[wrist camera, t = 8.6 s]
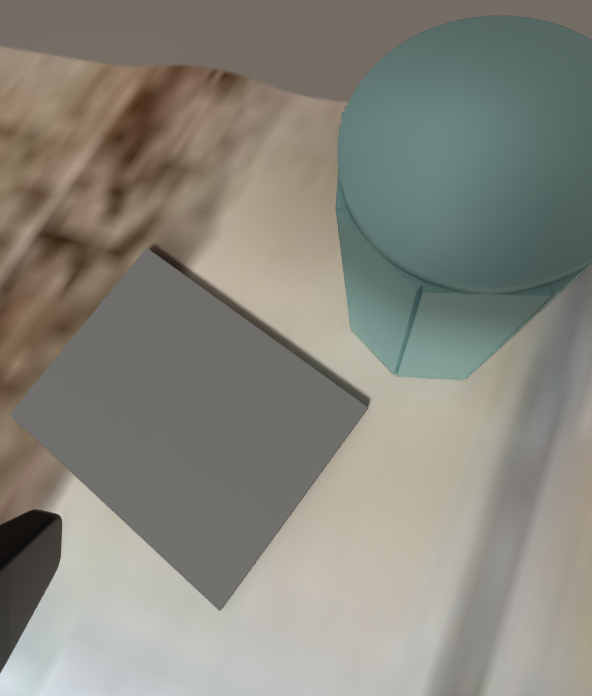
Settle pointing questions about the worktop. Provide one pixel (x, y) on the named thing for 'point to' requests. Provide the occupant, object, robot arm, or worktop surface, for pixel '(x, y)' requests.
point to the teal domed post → (465, 190)
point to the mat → (188, 423)
